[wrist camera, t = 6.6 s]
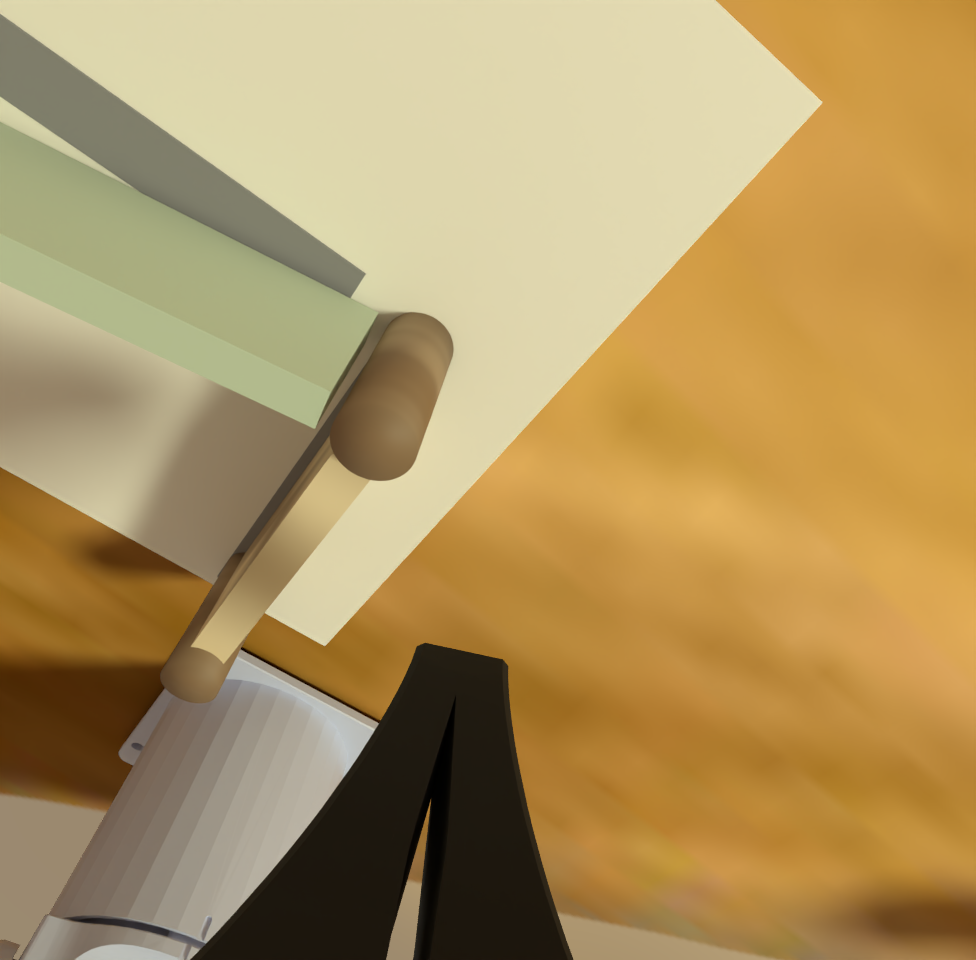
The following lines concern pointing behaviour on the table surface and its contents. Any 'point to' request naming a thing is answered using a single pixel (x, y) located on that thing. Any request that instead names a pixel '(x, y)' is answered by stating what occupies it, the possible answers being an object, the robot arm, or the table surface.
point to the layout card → (368, 231)
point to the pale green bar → (172, 283)
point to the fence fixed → (319, 497)
